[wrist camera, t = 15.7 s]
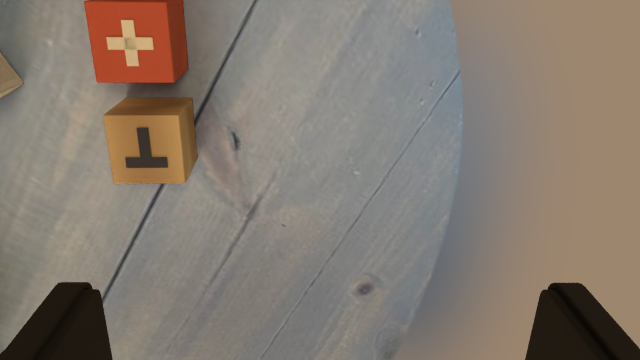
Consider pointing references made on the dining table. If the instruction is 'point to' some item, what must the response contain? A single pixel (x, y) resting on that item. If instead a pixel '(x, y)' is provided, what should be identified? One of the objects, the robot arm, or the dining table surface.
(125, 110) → the wooden letter t cube
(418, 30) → the dining table surface
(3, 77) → the small box
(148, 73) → the red cross cube
